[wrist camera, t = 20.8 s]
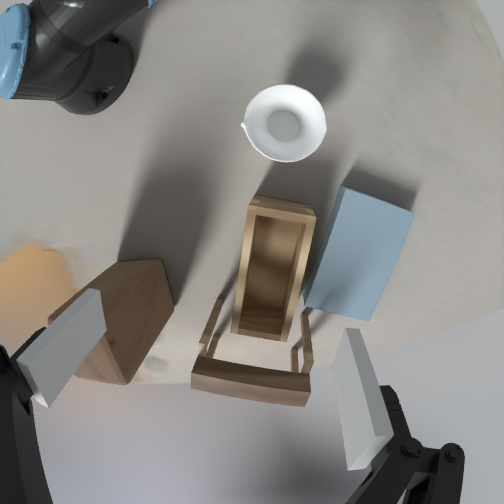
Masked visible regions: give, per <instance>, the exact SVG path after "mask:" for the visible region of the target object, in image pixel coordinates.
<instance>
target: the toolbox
mask: <svg viewBox="0 0 504 504" xmlns="http://www.w3.org/2000/svg"><path fill="white" fill-rule="evenodd" d="M315 222H316V215H315V213H314V211H313V209H312V208H311V206H310V205H309V204H303V203H298V202H292V201H287V200H281V199H275V198H270V197H264V196H258V195H254V197H253V199H252V200H251V202H250V204H249V206H248V213H247V220H246V226H245V233H244V240H243V247H242V254H241V261H240V267H239V274H238V281H237V288H236V296H235V303H234V310H233V317H232V324H231V331H230V333H235V334H240V335H246V336H252V337H257V338H263V339H269V340H276V341H282V342H287V339H288V335H289V331H290V328H291V324H292V320H293V316H294V312H295V308H296V304H297V300H298V296H299V292H300V288H301V284H302V280H303V276H304V272H305V267H306V263H307V259H308V254H309V250H310V245H311V241H312V236H313V232H314V227H315ZM222 305H223V299H219V298H217V300H216V303H215V305H214V308H213V310H212V312H211V315H210V317H209V320H208V322H207V324H206V327H205V329H204V332H203V334H202V336H201V339H200V341H199V349H198V356H203V357H207V358H212V359H213V356H214V353H215V350H216V347H217V344H218V341H219V335H215V334H214V335H213V338H212V340H211V343H210V346H209V349H208V352H207V346H208V343H209V340H210V338H211V335H212V332H213V330H214V327H215V324H216V322H217V319H218V316H219V313H220V311H221V308H222ZM301 330H302V342H303V354H304V365H303V368H302V371H301V373H304V374H309V373H310V371H311V368H312V365H313V362H314V360H313V351H312V343H311V335H310V327H309V320H308V314H307V313H302V314H301ZM291 372H296V373H299V370H298V350H297V348H292V349H291Z"/></svg>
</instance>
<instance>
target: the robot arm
mask: <svg viewBox="0 0 504 504" xmlns="http://www.w3.org/2000/svg"><path fill="white" fill-rule="evenodd" d="M156 1H158V0H33V1H32V2H31V3H30V4H29V5H26V4H24V3H21V4H15V5H13V6H11V7H9V8H8V9H6V11H4V12H3V13H2V14H1V16H0V98H3V99H30V100H48V101H55V102H56V103H57V104H59V105H60V106H62V107H63V108H64V109H66V110H67V111H69V112H71V113H74V114H81V115H92V114H96V113H98V112H101V111H103V110H104V109H106V108H107V107H109V106H110V105H111V104H112V103H114V102H115V101H116V100H117V98H118V97H119V96H120V95H121V93H122V92H123V90H124V89H125V87H126V85H127V83H128V81H129V79H130V76H131V73H132V69H133V52H132V49H131V46H130V44H129V43H128V42H127V40H125V39H124V38H123V37H121V36H119V35H118V34H116V33H114V32H112V31H113V30H114V29H116V28H117V27H119V26H120V25H121V24H123V23H124V22H126V21H127V20H129V19H130V18H131V17H133V16H134V15H136V14H137V13H139V12H141V11H142V10H144V9H145V8H150V7H151V6H152V5H153V3H155V2H156ZM106 331H107V329H106V324H105V319H104V313H103V308H102V302H101V295H100V290H96V289H91V288H88V289H87V290H86V291H85V292H84V293H83V294H82V295H81V296H80V297H79V298H77V299H76V300H75V301H74V302H73V303H72V304H71V305H70V306H69V307H68V308H67V309H66V310H65V311H64V312H63V313H62V314H61V315H59V316H58V317H57V318H56V319H55V320H54V321H53V322H52V323H51V324H50V325H49V326H48V327H47V328H46V327H43V328H41V329H39V330H38V331H36V332H35V333H34V334H33V335H32V336H31V337H30V338H29V339H28V340H27V341H26V343H24V344H23V345H22V346H21V347H20V348H19V349H18V350H17V351H16V352H15V353H14V354H13V355H12V356H11V358H9V356H8V354H7V351H6V349H5V348H4V346H2V345H0V504H53V501H52V498H51V495H50V492H49V488H48V485H47V481H46V478H45V474H44V470H43V466H42V462H41V457H40V452H39V446H38V441H37V435H36V429H35V422H34V414H33V406H32V401H31V399H30V398H31V396H32V395H34V396H35V398H36V400H37V402H38V403H40V404H42V405H44V406H46V407H48V408H49V407H50V406H51V404H52V403H53V402H54V400H55V399H56V397H57V396H58V394H59V393H60V392H61V390H62V389H63V388H64V386H65V385H66V383H67V382H68V381H69V379H70V378H71V376H72V375H73V374H74V372H75V371H76V370H77V368H78V367H79V366H80V364H81V363H82V362H83V360H84V359H85V358H86V356H87V355H88V354H89V352H90V351H91V350H92V349H93V347H94V346H95V345H96V343H97V342H98V341H99V340H100V338H101V337H102V336H103V334H104V333H105V332H106ZM331 368H332V373H333V379H334V384H335V389H336V395H337V401H338V407H339V413H340V419H341V425H342V432H343V438H344V445H345V452H346V460H347V467H348V470H355V469H365V468H366V467H367V466H368V465H369V464H370V463H371V468H372V470H371V471H370V472H369V473H368V474H367V476H365V477H364V478H363V482H362V483H361V484H360V486H359V487H358V488H357V490H356V491H355V492H354V493H353V495H352V496H351V497H350V498H349V500H348V501H347V502H346V503H345V504H397V502H398V500H399V499H400V497H401V496H402V494H403V492H404V491H405V489H406V492H405V496H404V499H403V503H402V504H459V503H460V496H461V489H462V482H463V472H464V461H465V456H464V451H463V449H462V448H461V447H460V446H459V445H457V444H455V443H448V444H445V445H444V446H443V447H442V448H441V449H432V448H426V447H423V446H422V445H421V443H420V442H419V441H418V440H417V439H415V438H412V437H411V434H410V431H409V428H408V425H407V422H406V419H405V416H404V413H403V411H402V408H401V405H400V404H399V399H398V397H397V394H396V392H395V391H394V390H393V389H392V388H391V387H390V385H386V386H379V384H378V381H377V378H376V375H375V372H374V369H373V367H372V363H371V361H370V358H369V355H368V352H367V349H366V346H365V344H364V341H363V338H362V336H361V333H360V330H359V329H352V328H345V330H344V333H343V336H342V339H341V342H340V345H339V348H338V350H337V353H336V356H335V359H334V361H333V364H332V367H331Z"/></svg>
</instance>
